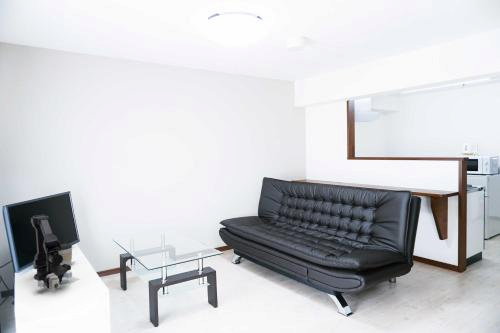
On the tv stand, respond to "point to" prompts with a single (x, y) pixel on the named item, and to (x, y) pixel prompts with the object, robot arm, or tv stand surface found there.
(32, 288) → the tv stand surface
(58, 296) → the tv stand surface
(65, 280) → the grey backboard with ledge
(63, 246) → the coffee cup
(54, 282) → the cream cube with dome
